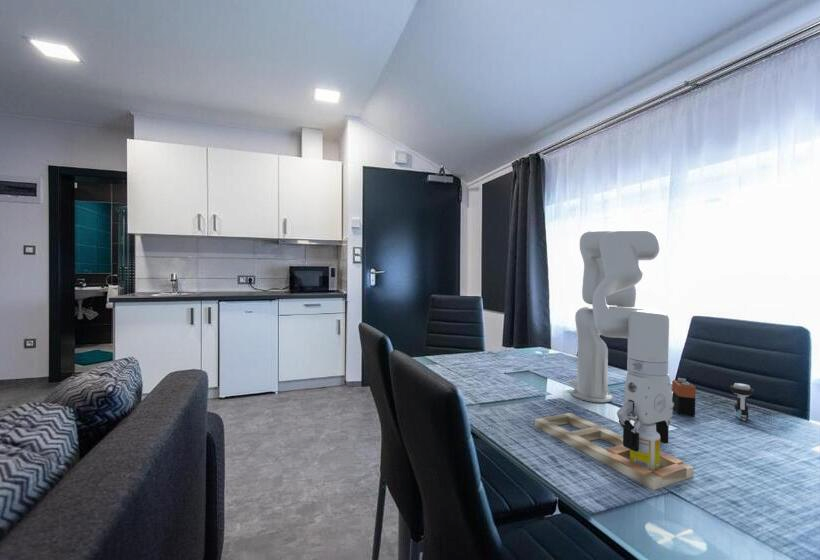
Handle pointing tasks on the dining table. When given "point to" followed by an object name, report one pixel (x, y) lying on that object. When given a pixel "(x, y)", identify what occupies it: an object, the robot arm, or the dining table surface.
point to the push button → (741, 399)
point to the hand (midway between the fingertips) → (645, 444)
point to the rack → (614, 451)
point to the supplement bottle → (647, 447)
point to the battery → (683, 397)
